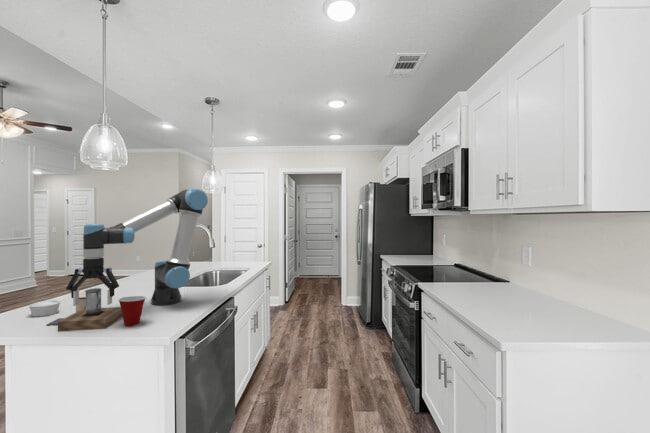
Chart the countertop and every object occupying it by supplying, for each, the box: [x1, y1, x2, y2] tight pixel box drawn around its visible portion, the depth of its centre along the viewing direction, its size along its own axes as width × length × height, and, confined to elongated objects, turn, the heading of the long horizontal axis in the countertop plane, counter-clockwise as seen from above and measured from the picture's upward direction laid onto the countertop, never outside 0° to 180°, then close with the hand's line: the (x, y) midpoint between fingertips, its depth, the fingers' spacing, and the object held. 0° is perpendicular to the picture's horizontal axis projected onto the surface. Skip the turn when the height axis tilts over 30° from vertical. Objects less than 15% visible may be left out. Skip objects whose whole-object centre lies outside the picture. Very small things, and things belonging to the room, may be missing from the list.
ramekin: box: [28, 299, 61, 318], centre depth 151 cm, size 11×11×5 cm
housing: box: [57, 306, 123, 332], centre depth 140 cm, size 18×18×4 cm
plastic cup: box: [117, 295, 147, 327], centre depth 138 cm, size 11×11×12 cm
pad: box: [46, 317, 65, 327], centre depth 140 cm, size 8×8×1 cm
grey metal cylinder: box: [85, 287, 102, 316], centre depth 140 cm, size 6×6×15 cm
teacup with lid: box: [75, 288, 88, 313], centre depth 154 cm, size 12×9×12 cm
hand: (93, 304), depth 139 cm, fingers open, 13 cm apart
